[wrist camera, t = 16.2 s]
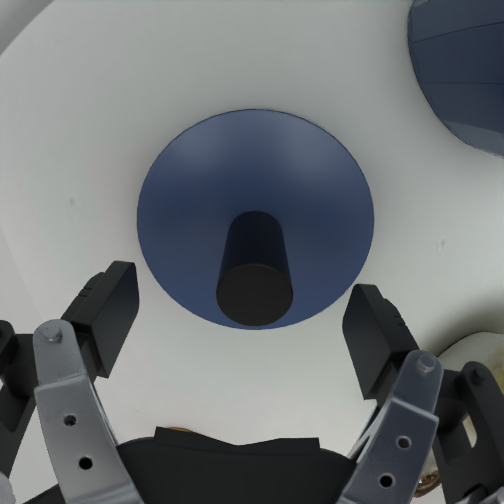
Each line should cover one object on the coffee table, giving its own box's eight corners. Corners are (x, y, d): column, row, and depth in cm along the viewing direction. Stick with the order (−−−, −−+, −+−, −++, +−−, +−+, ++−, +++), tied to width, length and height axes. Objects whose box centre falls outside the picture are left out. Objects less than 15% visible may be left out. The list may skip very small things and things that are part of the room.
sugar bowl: (549, 291, 18) (628, 391, 4) (490, 393, 24) (532, 487, 11) (393, 307, 18) (484, 525, 5) (345, 427, 25) (367, 564, 11)
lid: (151, 306, 18) (119, 382, 13) (144, 105, 13) (76, 110, 7) (338, 322, 18) (362, 400, 13) (385, 130, 13) (458, 151, 8)
